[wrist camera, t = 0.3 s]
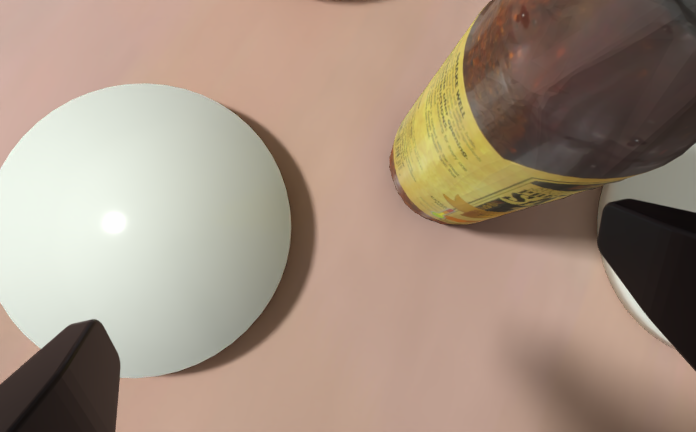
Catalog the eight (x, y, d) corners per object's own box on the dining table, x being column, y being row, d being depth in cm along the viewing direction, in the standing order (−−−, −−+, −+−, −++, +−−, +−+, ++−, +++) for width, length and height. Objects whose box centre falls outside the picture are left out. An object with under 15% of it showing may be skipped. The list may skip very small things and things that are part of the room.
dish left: (347, 227, 22) (349, 225, 21) (144, 433, 21) (134, 444, 19) (157, 39, 23) (149, 26, 21) (-63, 228, 21) (-85, 226, 20)
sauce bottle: (436, 253, 23) (1278, 178, 3) (360, 152, 23) (698, -526, 3) (535, 175, 24) (1668, -262, 4) (460, 78, 24) (1199, -799, 4)
